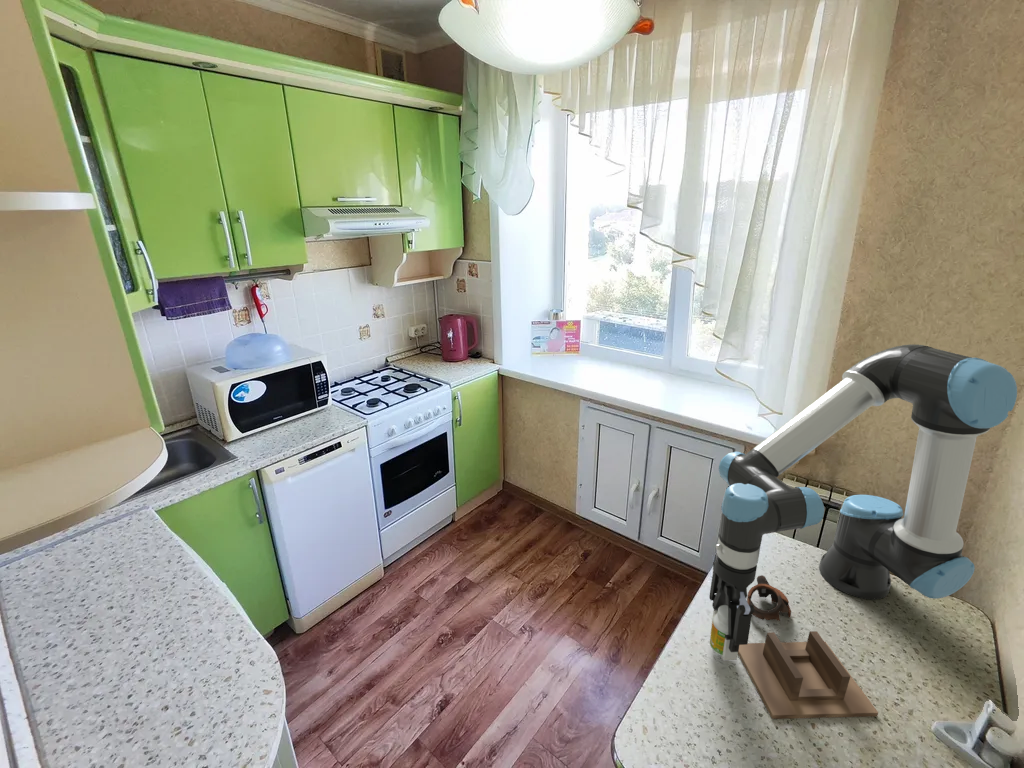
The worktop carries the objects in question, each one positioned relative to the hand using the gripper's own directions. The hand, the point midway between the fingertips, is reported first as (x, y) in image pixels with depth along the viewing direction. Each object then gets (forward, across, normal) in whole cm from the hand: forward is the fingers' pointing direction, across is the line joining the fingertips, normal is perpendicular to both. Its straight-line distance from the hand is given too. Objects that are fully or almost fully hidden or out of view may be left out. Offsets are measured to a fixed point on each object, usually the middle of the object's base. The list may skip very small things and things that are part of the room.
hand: (723, 646), depth 103 cm
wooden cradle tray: (+3, +6, +14) cm, 15 cm away
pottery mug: (+3, -12, +16) cm, 20 cm away
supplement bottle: (+1, 0, 0) cm, 1 cm away
